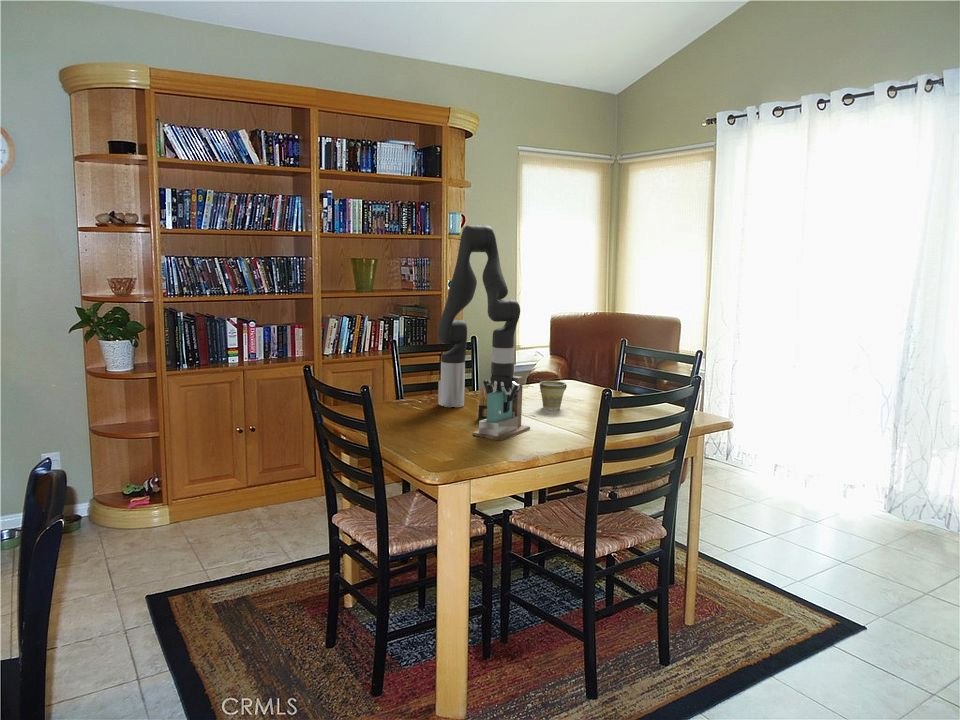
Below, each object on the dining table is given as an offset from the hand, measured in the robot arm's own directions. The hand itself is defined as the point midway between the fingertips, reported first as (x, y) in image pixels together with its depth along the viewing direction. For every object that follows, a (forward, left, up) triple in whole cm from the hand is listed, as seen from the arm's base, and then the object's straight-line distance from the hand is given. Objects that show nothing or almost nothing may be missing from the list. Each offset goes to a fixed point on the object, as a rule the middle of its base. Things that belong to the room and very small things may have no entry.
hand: (501, 411), depth 244 cm
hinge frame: (0, +1, -7) cm, 7 cm away
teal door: (0, -1, -6) cm, 6 cm away
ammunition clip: (-12, +14, -8) cm, 20 cm away
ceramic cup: (-4, +46, -7) cm, 47 cm away
